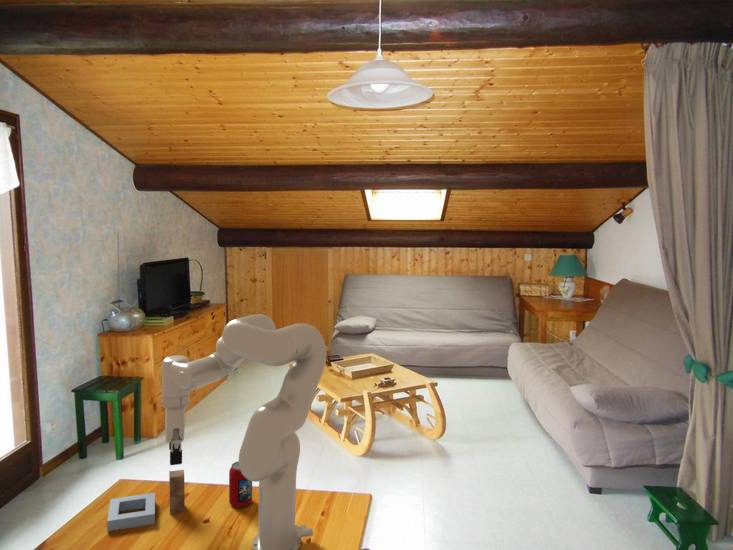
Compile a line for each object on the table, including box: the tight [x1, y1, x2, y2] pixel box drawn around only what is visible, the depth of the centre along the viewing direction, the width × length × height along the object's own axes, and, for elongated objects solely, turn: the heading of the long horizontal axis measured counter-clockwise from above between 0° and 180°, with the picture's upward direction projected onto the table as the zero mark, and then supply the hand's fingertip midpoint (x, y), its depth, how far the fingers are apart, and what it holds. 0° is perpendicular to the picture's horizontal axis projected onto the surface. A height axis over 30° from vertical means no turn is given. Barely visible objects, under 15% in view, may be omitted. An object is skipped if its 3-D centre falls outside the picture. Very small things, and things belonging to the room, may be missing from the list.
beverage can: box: [228, 460, 253, 508], centre depth 163 cm, size 7×7×12 cm
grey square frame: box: [106, 492, 156, 532], centre depth 155 cm, size 12×12×3 cm
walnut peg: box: [168, 469, 186, 515], centre depth 159 cm, size 4×4×11 cm
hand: (175, 456), depth 158 cm, fingers open, 9 cm apart
